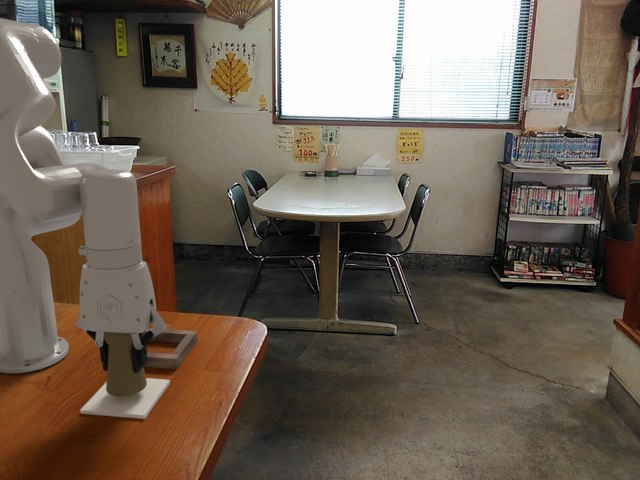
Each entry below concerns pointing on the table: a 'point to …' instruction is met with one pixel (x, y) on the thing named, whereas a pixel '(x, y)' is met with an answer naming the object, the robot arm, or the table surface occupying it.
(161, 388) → the coaster
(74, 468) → the table surface
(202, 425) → the table surface
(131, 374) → the cork
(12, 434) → the table surface
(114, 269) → the robot arm
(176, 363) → the holder
